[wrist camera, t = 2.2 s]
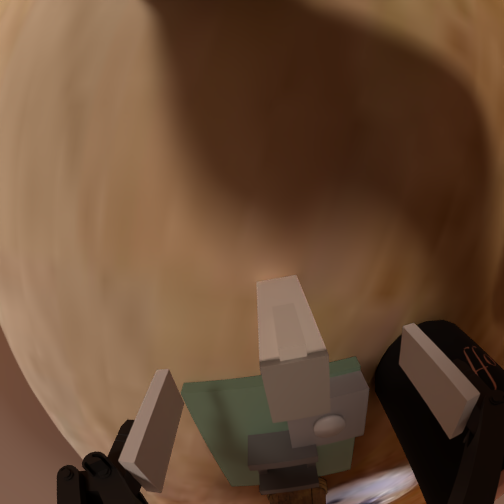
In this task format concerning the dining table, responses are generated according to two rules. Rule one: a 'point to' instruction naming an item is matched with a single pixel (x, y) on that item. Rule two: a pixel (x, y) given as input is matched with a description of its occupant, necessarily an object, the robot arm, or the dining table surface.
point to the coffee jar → (421, 417)
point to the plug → (291, 352)
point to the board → (279, 430)
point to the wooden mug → (302, 495)
